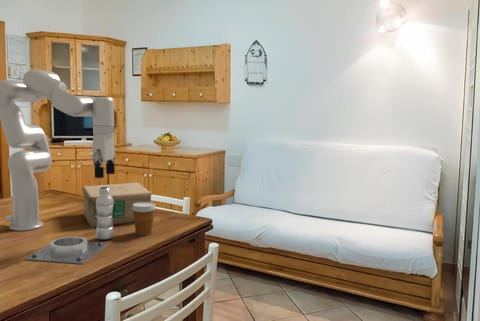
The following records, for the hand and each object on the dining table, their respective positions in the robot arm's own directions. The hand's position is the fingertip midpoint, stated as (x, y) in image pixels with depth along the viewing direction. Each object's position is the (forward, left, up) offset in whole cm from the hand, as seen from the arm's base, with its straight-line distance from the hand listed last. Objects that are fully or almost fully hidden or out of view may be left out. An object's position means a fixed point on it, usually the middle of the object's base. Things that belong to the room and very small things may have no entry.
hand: (105, 175), depth 160 cm
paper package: (-9, +32, -25) cm, 41 cm away
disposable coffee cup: (+12, +10, -25) cm, 29 cm away
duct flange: (-6, -16, -25) cm, 30 cm away
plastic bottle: (0, 0, -25) cm, 25 cm away
